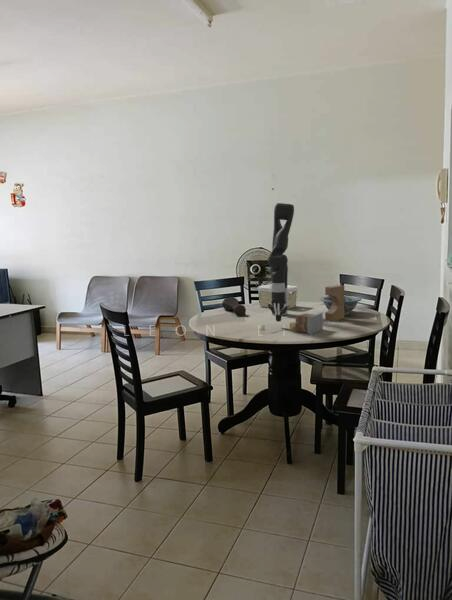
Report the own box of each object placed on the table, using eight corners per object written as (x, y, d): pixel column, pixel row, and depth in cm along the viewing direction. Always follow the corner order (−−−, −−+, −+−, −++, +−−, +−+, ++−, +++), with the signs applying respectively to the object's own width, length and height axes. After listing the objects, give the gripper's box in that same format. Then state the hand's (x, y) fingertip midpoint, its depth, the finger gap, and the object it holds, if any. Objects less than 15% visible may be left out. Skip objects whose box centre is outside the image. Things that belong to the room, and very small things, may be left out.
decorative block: (331, 321, 279) (331, 287, 275) (324, 320, 283) (324, 286, 280) (344, 319, 285) (345, 285, 282) (337, 317, 289) (337, 284, 286)
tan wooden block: (289, 330, 261) (289, 323, 261) (293, 328, 264) (293, 321, 264) (306, 332, 255) (306, 324, 255) (309, 330, 258) (309, 323, 258)
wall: (307, 334, 250) (307, 317, 248) (319, 328, 261) (319, 312, 259) (310, 334, 249) (310, 317, 247) (322, 329, 260) (322, 312, 258)
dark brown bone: (225, 312, 332) (238, 324, 306) (218, 300, 328) (230, 311, 302) (239, 304, 333) (252, 315, 307) (232, 291, 329) (245, 302, 303)
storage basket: (298, 306, 332) (298, 285, 330) (285, 310, 320) (285, 288, 318) (270, 303, 348) (270, 283, 346) (257, 307, 336) (256, 286, 333)
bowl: (369, 312, 302) (369, 297, 300) (345, 318, 285) (345, 303, 284) (335, 308, 320) (335, 294, 319) (312, 314, 304) (312, 299, 302)
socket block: (295, 331, 256) (295, 316, 255) (304, 327, 264) (304, 313, 263) (309, 332, 251) (309, 317, 250) (317, 329, 259) (317, 314, 258)
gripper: (264, 290, 266) (264, 321, 269) (285, 292, 258) (285, 323, 261) (271, 289, 272) (271, 318, 275) (292, 290, 264) (292, 321, 267)
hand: (278, 321), depth 268 cm, fingers closed
